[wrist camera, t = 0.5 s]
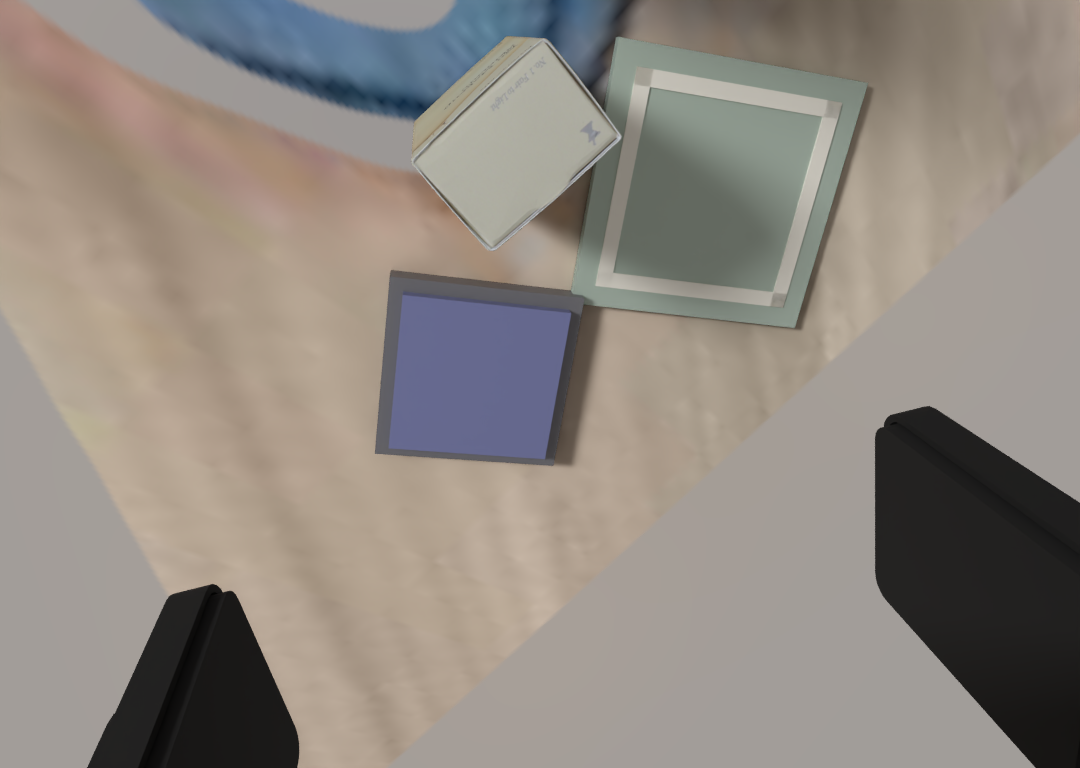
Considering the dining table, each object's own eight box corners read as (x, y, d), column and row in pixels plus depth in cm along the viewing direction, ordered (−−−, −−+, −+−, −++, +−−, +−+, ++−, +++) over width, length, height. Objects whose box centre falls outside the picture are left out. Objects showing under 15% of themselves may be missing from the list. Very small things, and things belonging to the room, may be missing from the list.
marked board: (616, 37, 36) (619, 36, 35) (861, 82, 38) (869, 83, 38) (569, 299, 41) (571, 303, 40) (789, 324, 43) (795, 328, 42)
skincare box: (507, 33, 35) (548, 23, 24) (567, 110, 37) (630, 135, 26) (408, 126, 36) (403, 158, 25) (470, 197, 38) (492, 256, 27)
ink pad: (390, 270, 39) (389, 279, 37) (580, 291, 40) (586, 301, 39) (376, 443, 42) (374, 458, 41) (549, 455, 44) (555, 470, 43)
